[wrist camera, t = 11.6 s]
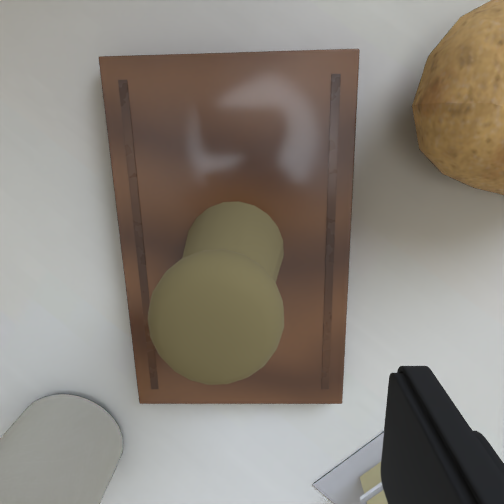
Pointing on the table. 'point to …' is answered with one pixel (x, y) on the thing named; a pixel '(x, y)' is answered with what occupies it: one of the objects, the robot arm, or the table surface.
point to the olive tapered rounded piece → (221, 297)
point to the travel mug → (59, 453)
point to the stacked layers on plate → (356, 477)
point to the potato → (466, 100)
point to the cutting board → (239, 197)
